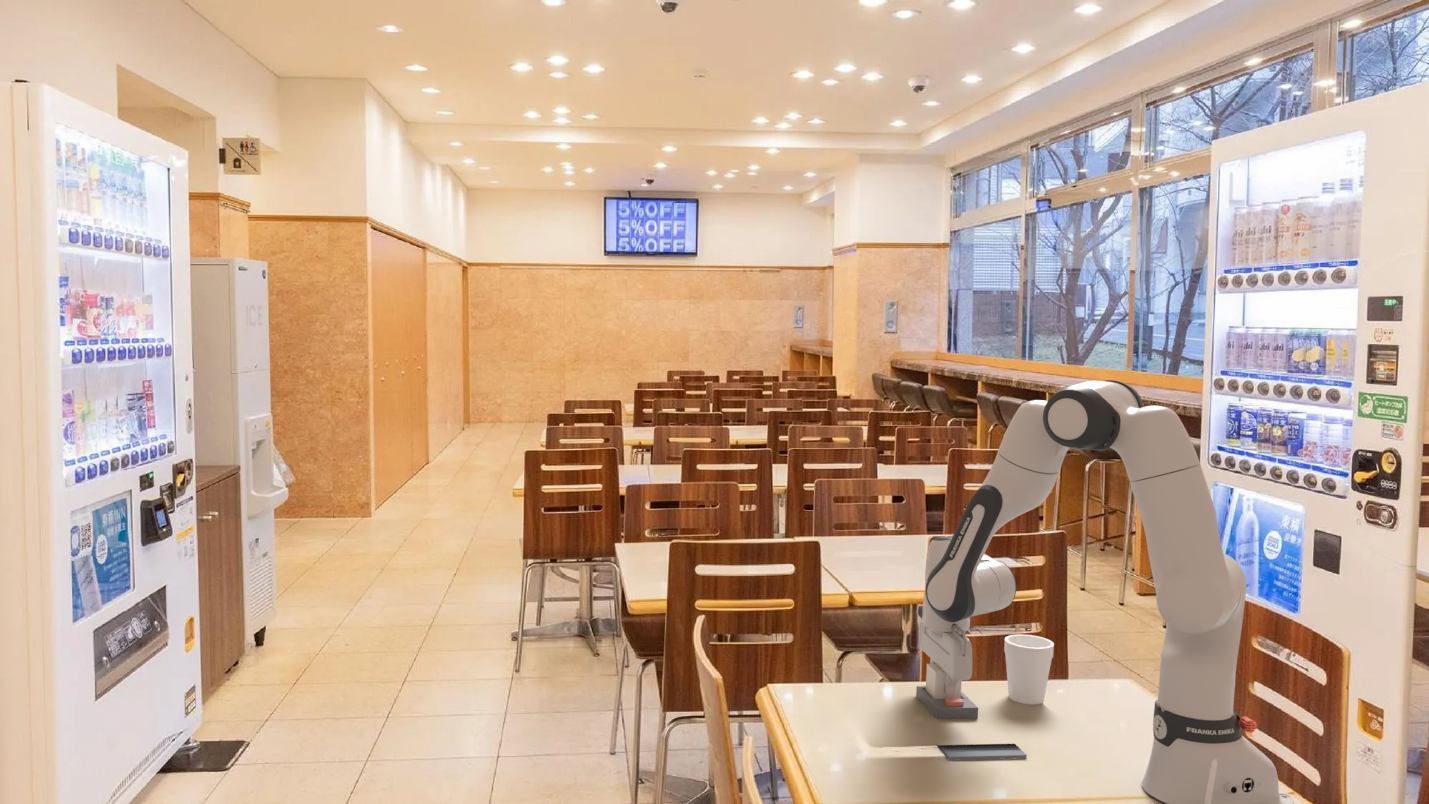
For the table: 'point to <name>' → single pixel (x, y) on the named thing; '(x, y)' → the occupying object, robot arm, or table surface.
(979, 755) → the rubber mat
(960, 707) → the power strip
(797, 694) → the table surface
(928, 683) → the block
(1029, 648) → the foam cup
